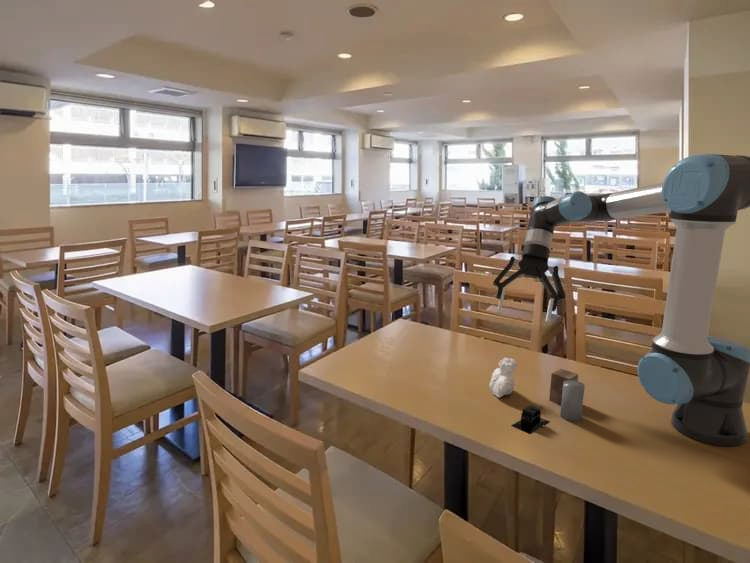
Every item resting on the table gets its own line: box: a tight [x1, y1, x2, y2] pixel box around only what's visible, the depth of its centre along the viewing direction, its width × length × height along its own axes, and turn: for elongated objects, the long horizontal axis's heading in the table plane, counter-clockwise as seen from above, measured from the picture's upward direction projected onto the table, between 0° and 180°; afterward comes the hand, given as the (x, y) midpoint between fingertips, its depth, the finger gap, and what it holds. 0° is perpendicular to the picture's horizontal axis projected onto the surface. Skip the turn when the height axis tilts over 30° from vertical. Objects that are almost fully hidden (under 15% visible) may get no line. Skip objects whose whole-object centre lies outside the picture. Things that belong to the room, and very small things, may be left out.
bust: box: [488, 356, 518, 398], centre depth 137 cm, size 12×8×11 cm
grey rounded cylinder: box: [559, 380, 586, 423], centre depth 123 cm, size 5×5×9 cm
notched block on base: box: [510, 404, 551, 435], centre depth 121 cm, size 12×7×5 cm, turn 131°
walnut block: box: [548, 368, 579, 406], centre depth 133 cm, size 5×5×8 cm
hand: (523, 315), depth 139 cm, fingers open, 13 cm apart
